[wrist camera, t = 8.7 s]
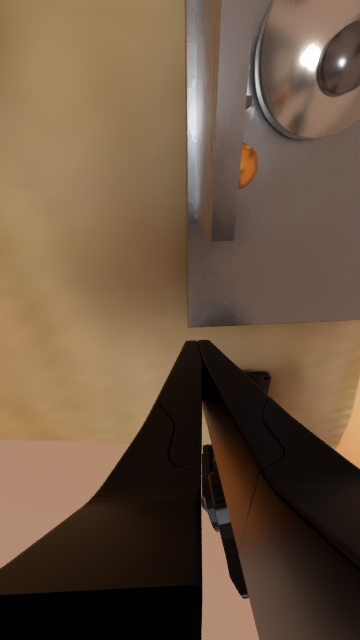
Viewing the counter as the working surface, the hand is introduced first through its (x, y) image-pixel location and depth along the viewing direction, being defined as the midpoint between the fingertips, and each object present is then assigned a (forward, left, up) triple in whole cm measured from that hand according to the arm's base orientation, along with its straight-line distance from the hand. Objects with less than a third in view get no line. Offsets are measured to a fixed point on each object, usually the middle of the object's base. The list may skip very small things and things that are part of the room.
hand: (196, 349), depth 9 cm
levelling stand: (+5, -9, -12) cm, 16 cm away
